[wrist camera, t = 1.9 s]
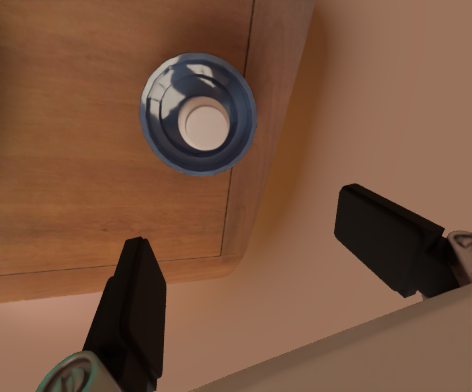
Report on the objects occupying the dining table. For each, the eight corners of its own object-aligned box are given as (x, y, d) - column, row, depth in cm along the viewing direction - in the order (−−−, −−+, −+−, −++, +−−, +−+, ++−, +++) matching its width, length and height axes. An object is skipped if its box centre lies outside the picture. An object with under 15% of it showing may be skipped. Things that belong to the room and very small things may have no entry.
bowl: (243, 58, 26) (257, 52, 22) (245, 158, 32) (256, 169, 28) (133, 60, 24) (123, 53, 19) (158, 169, 30) (155, 182, 25)
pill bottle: (226, 117, 28) (248, 128, 20) (200, 146, 29) (210, 168, 21) (197, 85, 26) (207, 82, 17) (168, 117, 27) (165, 129, 18)
